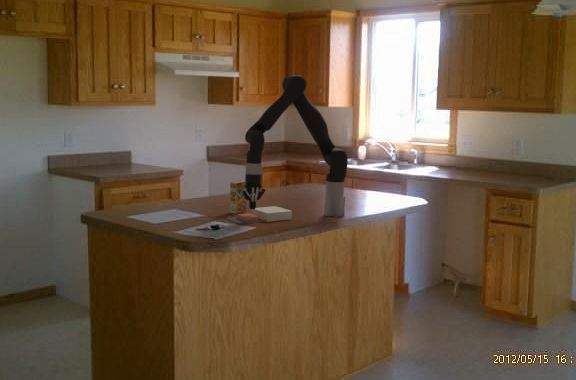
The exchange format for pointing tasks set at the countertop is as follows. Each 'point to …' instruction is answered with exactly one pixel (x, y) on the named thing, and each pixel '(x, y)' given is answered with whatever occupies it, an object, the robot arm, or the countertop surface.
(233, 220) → the mat
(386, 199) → the countertop surface
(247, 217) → the block
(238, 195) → the candy box
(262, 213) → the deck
